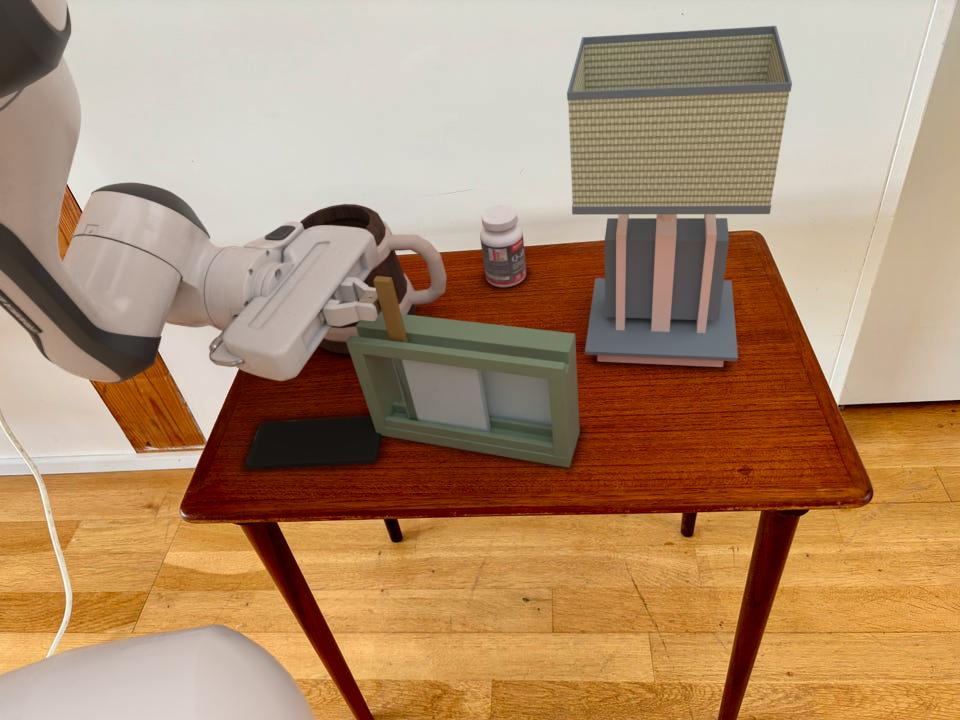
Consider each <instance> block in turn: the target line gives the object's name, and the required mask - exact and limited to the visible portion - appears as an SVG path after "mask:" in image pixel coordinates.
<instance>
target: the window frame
mask: <svg viewBox="0 0 960 720" xmlns="http://www.w3.org/2000/svg"><path fill="white" fill-rule="evenodd" d="M401 316H402V320H403V324H404V328H405V331H406V335H407V339H408V343H404V342H396V341H390V339H389V335H388V332H387V328H386V325H385V321H384V317H383V314H382V312H380V314H379V316H378V317H377V319H376V320H375V321H365V320H360V321H359V322H358V324H357V325H356V329H357V332H358V335H359V337H357V336H349V337H348V339H347V340H346V343H347V346H348V349H349V352H350V354H349V355H350V358H351V361H352V364H353V367H354V370H355V372H356V375H357V379H358V381H359V384H360V388H361V391H362V394H363V397H364V400H365V402H366V405H367V409H368V411H369V416H371V418H372V421H373V424H374V427H375V430H376V433H380V434H381V435H382V437H388V438H394V439H399V440H405V441H412V442H418V443H424V444H429V445H434V446H440V447H446V448H452V449H457V450H464V451H469V452H475V453H481V454H487V455H493V456H499V457H504V458H511V459H515V460H522V461H526V462H533V463H540V464H546V465H551V466H555V467H556V466H557V467H562V468H568V469H569V468H570V467H571V463H572V460H573V457H574V454H575V450H576V447H577V443H578V439H579V436H580V429H581V428H580V408H579V393H578V392H579V390H578V389H579V387H578V366H577V346H576V333H574V332H566V331H565V332H564V331H557V330H547V329H538V328H530V327H520V326H519V327H518V326H512V325H503V324H494V323H485V322H478V321H477V322H476V321H468V320H457V319H448V318H442V317H441V318H440V317H432V316H431V317H430V316H424V315H423V316H421V315H406V314H401ZM392 358H396V359H404V360H411V361H418V362H426V363H433V364H441V365H448V366H456V367H463V368H471V369H478V370H481V374H482V380H483V385H484V391H485V397H486V403H487V409H488V415H489V420H490V426H491V430H490V432H483V431H476V430H470V429H464V428H458V427H452V426H446V425H440V424H433V423H427V422H421V421H415V420H409V417H408V413H407V410H406V406H405V403H404V399H403V395H402V392H401V388H400V385H399V381H398V378H397V374H396V371H395V367H394V364H393V360H392Z"/></svg>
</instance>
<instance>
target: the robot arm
mask: <svg viewBox="0 0 960 720" xmlns="http://www.w3.org/2000/svg"><path fill="white" fill-rule="evenodd" d="M71 35H72V20H71V13H70V8H69V5H68V0H0V307H1V308H2V309H3V310H4V311H5V312H6V313H7V314H9V315H10V317H11V318H12V319H14V320H15V321H16V322H17V323H18V325H20V326H21V327H22V328H23V329H24V330H25V332H27V333H28V335H29V337H30V338H31V340H32V341H33V343H34V345H35V347H36V348H37V349H38V351H39V352H40V354H41V355H42V356H43V357H44V358H45V359H46V360H47V361H49V362H50V363H51V364H54V365H55V366H57V367H58V368H59V369H61V370H62V371H65V372H66V373H69V374H71V375H73V376H76V377H79V378H82V379H84V380H88V381H94V382H98V383H99V382H100V383H109V384H120V383H122V382H126V381H128V380H130V379H132V378H135V377H136V376H138V375H140V374H141V373H143V372H145V371H147V370H148V369H150V368H152V367H153V366H154V365H155V363H156V360H157V356H158V352H159V348H160V345H161V341H162V337H163V336H162V333H163V331H164V327H165V324H168V325H173V326H174V325H175V326H179V327H185V328H187V327H188V328H197V329H198V328H203V327H211V328H214V329H216V330H219V331H221V332H220V334H219V335H218V336H216V337H215V338H214V339H213V340H212V341H211V342H210V344H209V346H208V351H209V353H208V359H209V360H210V361H211V362H212V363H213V364H214V365H216V366H220V367H226V368H227V367H228V368H237V369H238V370H241V371H243V372H245V373H248V374H250V375H254V376H257V377H259V378H263V379H268V380H272V381H277V382H285V381H289V380H291V379H294V378H296V377H298V375H299V374H300V372H301V371H302V370H303V368H304V367H305V365H306V364H307V363H308V361H309V360H310V358H311V357H312V356H313V354H314V352H315V351H316V350H317V349H318V347H319V344H320V343H321V341H322V340H323V338H324V337H325V336H326V334H327V333H328V331H329V330H330V329H331V327H332V326H339V327H340V326H344V325H347V324H351V323H354V322H357V321H360V320H365V321H375V320H376V319H377V317H378V316H379V314H380V312H381V311H382V310H381V307H380V303H379V300H378V296H377V292H376V289H375V288H372V287H369V286H368V285H366V284H365V283H364V281H365V279H366V278H367V276H368V275H369V274H370V272H371V271H372V269H373V268H374V266H375V265H376V264H377V262H378V261H379V254H378V249H377V245H376V242H375V238H374V236H373V235H372V234H371V233H370V232H369V231H368V230H366V229H362V228H356V227H346V226H332V225H320V226H314V227H310V228H308V229H306V230H305V229H304V227H303V225H302V223H300V222H301V221H287V222H285V223H283V224H281V225H280V226H278V227H277V228H275V229H273V230H272V231H270V232H269V233H267V234H265V235H263V236H261V237H259V238H257V239H254V240H251V241H248V242H246V243H245V244H244V245H243V246H238V245H229V246H218V245H215V244H213V243H212V242H211V240H210V239H211V236H210V233H209V232H208V230H207V228H206V227H205V225H204V224H203V223H202V221H201V219H200V218H199V217H198V215H197V214H196V212H195V211H194V209H192V208H193V207H192V206H190V205H189V204H188V203H187V202H186V201H185V200H184V199H183V198H181V197H180V196H178V195H177V194H176V193H173V192H172V191H169V190H167V189H165V188H162V187H158V186H155V185H151V184H147V183H146V184H145V183H142V182H141V183H140V182H119V183H111V184H108V185H104V186H101V187H99V188H97V189H95V190H93V191H92V192H91V193H90V196H89V198H88V200H87V202H86V204H85V206H84V208H83V210H82V213H81V215H80V217H79V219H78V221H77V224H76V227H75V229H74V231H73V233H72V236H71V240H70V243H69V245H68V247H67V250H66V252H65V255H64V257H63V260H62V258H61V253H60V247H59V228H60V218H61V214H62V213H61V212H62V208H63V202H64V197H65V193H66V189H67V186H68V181H69V177H70V173H71V169H72V167H73V166H72V165H73V162H74V157H75V154H76V151H77V146H78V143H79V140H80V139H79V138H80V133H81V126H82V109H81V107H82V105H81V101H80V95H79V92H78V89H77V86H76V83H75V80H74V78H73V75H72V72H71V69H70V68H69V65H68V63H67V61H66V59H65V56H64V53H65V51H66V47H67V46H68V43H69V40H70V38H71ZM358 299H359V301H358ZM349 302H350V303H349ZM0 720H317V718H316V715H315V712H314V711H313V708H312V706H311V705H310V703H309V700H308V699H307V697H306V694H305V693H304V691H303V690H302V688H301V687H300V685H299V684H298V682H297V681H296V679H295V678H294V676H293V675H292V674H291V673H290V672H289V671H288V670H287V669H286V667H285V666H284V665H283V664H282V663H281V662H280V661H279V660H278V659H277V658H276V657H275V656H274V655H273V654H272V653H271V652H269V651H268V650H267V649H266V648H265V647H264V646H262V645H261V644H259V643H257V642H256V641H254V640H252V639H251V638H250V637H248V636H247V635H245V634H243V633H242V632H239V631H238V630H235V629H233V628H231V627H228V626H226V625H224V624H220V623H219V624H218V623H217V624H216V623H215V624H209V625H202V626H196V627H189V628H183V629H175V630H169V631H168V630H167V631H162V632H156V633H155V632H154V633H149V634H141V635H137V636H133V637H127V638H126V637H125V638H121V639H115V640H111V641H104V642H100V643H94V644H89V645H83V646H78V647H73V648H69V649H67V650H64V651H61V652H59V653H56V654H54V655H51V656H48V657H45V658H43V659H40V660H36V661H34V662H31V663H28V664H25V665H23V666H20V667H18V668H15V669H13V670H9V671H7V672H4V673H1V674H0Z"/></svg>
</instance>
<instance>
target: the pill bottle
mask: <svg viewBox="0 0 960 720" xmlns="http://www.w3.org/2000/svg"><path fill="white" fill-rule="evenodd" d="M480 217H481V225H482V227H483V228H482V229H481V230H480V234H479V238H480V239H479V240H480V246H481V252H482V253H481V254H482V261H483V268H484V274H485V279H486V281H487V282H488V284H490V285H491V286H493V287H498V288H510V287H514V286H517V285H519V284H520V283H521V282H522V281H524V280H525V278H526V276H527V262H526V254H525V253H526V252H525V244H524V243H525V242H524V232H523V229H522V227H521V226H520V224H519V223H518V222H519V217H518V212H517V210H516V208H514V207H513V206H511V205H506V204H499V205H493V206H490V207H489V208H487V209H485V210H484V211H483V212H482V213H481V216H480Z"/></svg>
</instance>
